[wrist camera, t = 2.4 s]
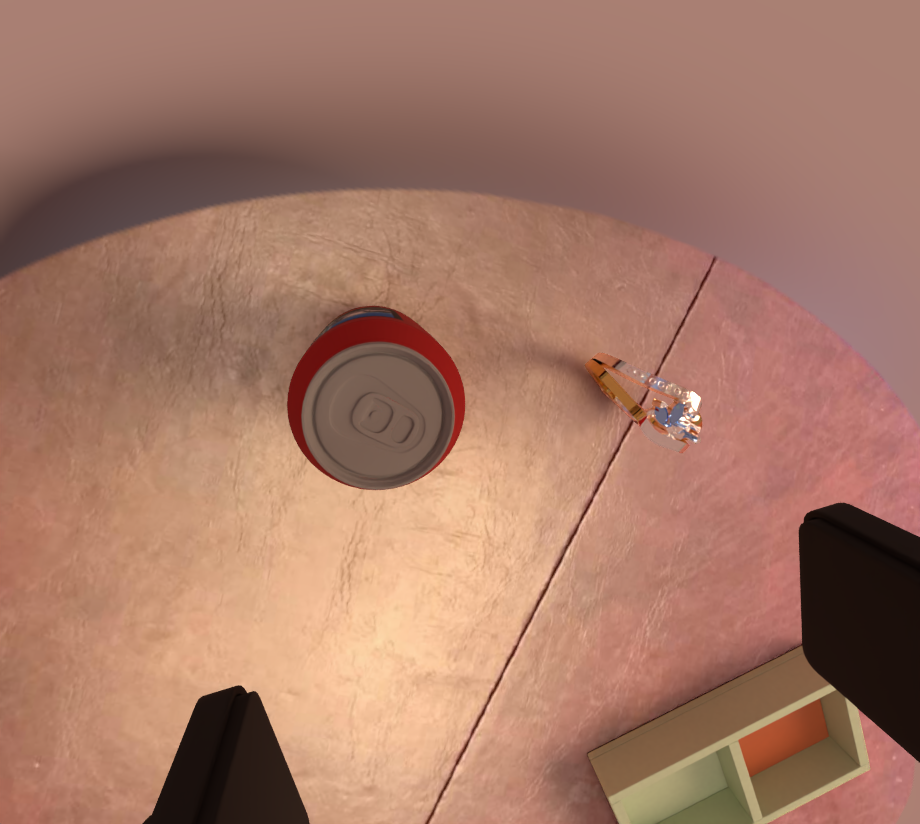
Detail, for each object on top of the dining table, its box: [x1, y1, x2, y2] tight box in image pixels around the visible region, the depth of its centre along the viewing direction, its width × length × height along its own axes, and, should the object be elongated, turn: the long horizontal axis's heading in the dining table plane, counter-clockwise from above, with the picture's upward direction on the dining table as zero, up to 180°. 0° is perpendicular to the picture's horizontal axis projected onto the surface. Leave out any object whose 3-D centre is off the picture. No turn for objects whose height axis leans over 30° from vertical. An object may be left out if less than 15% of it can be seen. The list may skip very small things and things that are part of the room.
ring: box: [585, 353, 702, 453], centre depth 29 cm, size 7×3×8 cm, turn 43°
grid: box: [587, 646, 870, 824], centre depth 40 cm, size 10×20×4 cm, turn 112°
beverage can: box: [287, 306, 465, 490], centre depth 24 cm, size 7×7×12 cm
